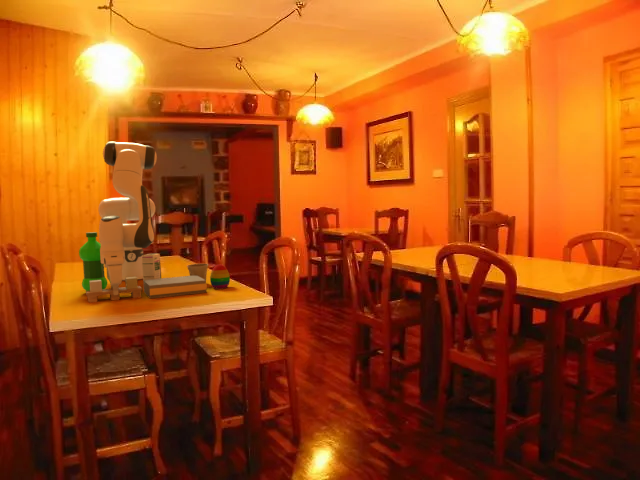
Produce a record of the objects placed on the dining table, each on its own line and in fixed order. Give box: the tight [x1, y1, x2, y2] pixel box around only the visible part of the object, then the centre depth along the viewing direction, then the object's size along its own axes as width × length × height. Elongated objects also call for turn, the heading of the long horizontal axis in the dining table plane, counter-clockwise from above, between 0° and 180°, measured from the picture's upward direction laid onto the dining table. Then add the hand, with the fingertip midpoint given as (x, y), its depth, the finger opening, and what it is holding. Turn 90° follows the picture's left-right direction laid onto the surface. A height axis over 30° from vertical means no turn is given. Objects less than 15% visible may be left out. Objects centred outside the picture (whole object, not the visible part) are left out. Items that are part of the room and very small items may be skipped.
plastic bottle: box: [78, 231, 108, 292], centre depth 224 cm, size 10×10×25 cm
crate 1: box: [90, 280, 102, 292], centre depth 207 cm, size 4×4×4 cm
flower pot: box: [186, 263, 209, 281], centre depth 238 cm, size 9×9×9 cm
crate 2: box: [124, 277, 139, 289], centre depth 213 cm, size 4×4×4 cm
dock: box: [142, 275, 208, 299], centre depth 220 cm, size 17×22×5 cm
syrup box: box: [142, 253, 162, 285], centre depth 233 cm, size 6×6×14 cm
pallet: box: [85, 285, 143, 303], centre depth 210 cm, size 6×20×4 cm, turn 116°
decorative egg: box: [209, 263, 231, 290], centre depth 228 cm, size 8×8×10 cm
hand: (114, 293), depth 210 cm, fingers open, 6 cm apart
